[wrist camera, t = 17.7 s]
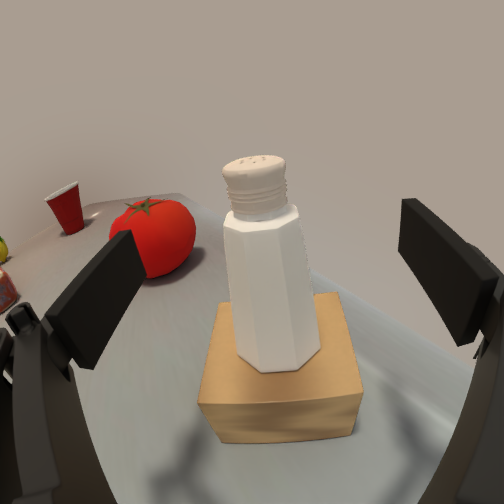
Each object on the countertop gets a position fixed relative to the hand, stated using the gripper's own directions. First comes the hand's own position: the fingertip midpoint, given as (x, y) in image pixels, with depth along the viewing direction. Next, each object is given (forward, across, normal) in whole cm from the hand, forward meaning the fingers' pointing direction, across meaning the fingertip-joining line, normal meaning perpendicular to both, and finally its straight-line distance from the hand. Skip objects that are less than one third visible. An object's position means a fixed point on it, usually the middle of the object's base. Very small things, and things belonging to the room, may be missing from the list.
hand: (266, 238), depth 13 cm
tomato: (+22, -17, -14) cm, 31 cm away
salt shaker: (+1, 0, -8) cm, 8 cm away
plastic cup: (+45, -53, -14) cm, 71 cm away
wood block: (+1, 0, -14) cm, 14 cm away
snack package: (+16, -56, -14) cm, 60 cm away
